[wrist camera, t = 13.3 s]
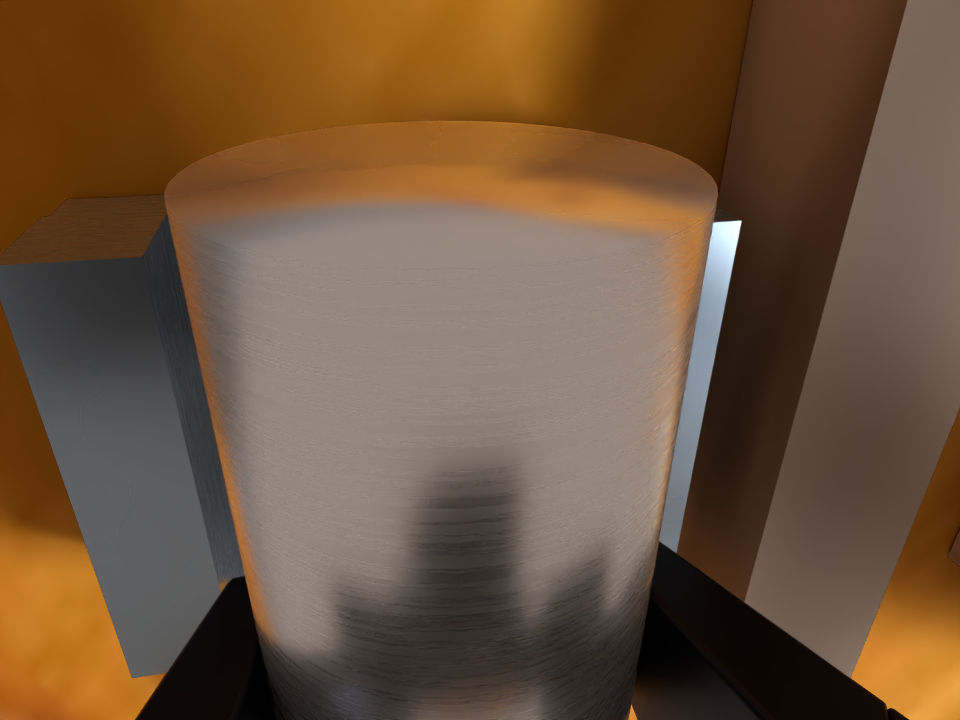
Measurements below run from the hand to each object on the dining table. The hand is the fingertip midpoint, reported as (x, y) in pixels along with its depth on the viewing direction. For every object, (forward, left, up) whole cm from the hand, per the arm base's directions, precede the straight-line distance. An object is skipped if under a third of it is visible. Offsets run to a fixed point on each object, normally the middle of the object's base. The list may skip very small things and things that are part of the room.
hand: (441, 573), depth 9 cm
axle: (0, 0, +1) cm, 1 cm away
